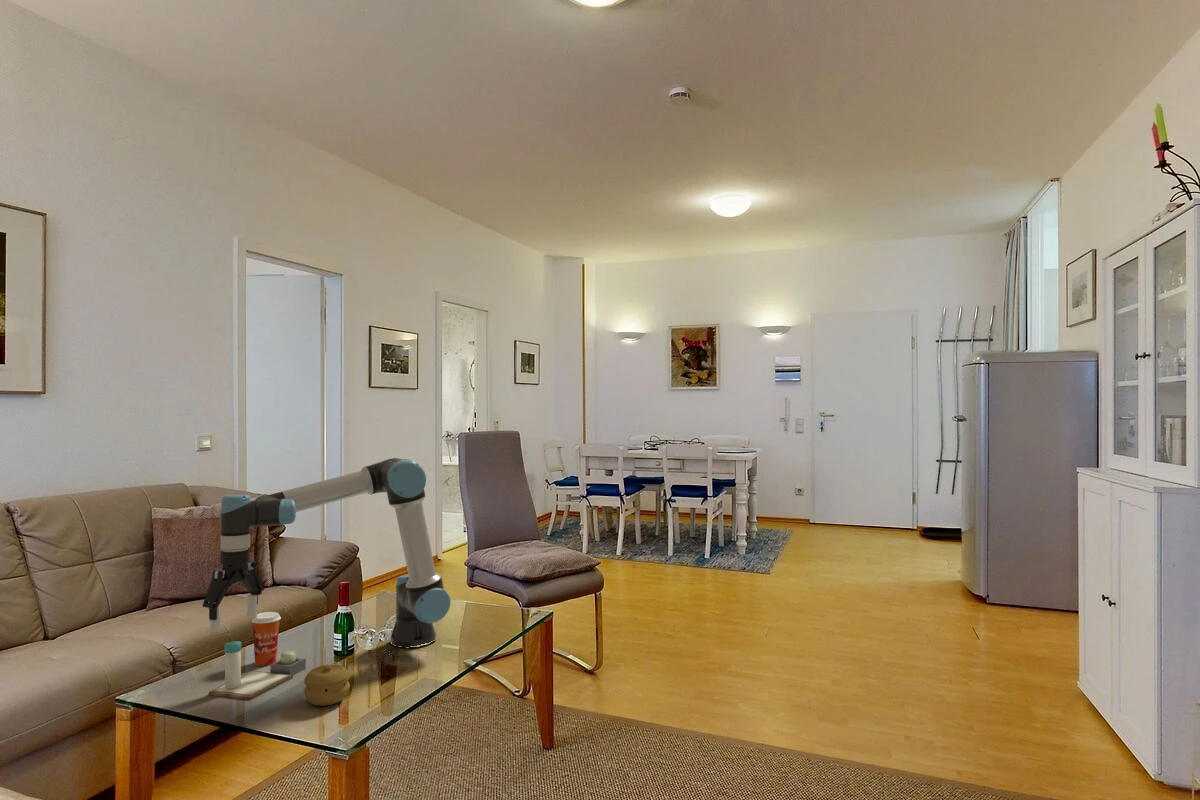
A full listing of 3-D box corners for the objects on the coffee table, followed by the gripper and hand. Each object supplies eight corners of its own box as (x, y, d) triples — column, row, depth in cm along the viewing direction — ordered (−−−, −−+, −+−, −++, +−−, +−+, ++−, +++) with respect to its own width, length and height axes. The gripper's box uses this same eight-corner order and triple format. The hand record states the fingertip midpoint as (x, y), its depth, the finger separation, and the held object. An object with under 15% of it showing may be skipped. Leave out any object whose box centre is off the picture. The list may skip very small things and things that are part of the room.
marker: (244, 684, 199) (244, 641, 200) (233, 689, 195) (233, 646, 196) (232, 683, 200) (232, 640, 201) (221, 688, 196) (221, 645, 197)
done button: (298, 663, 214) (298, 651, 214) (289, 668, 210) (289, 656, 210) (287, 662, 215) (287, 650, 215) (278, 667, 211) (278, 654, 211)
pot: (350, 691, 197) (350, 655, 197) (349, 707, 186) (349, 669, 186) (305, 696, 193) (305, 660, 193) (301, 713, 182) (302, 675, 182)
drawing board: (293, 677, 207) (293, 672, 207) (250, 700, 191) (250, 694, 191) (253, 673, 211) (253, 668, 211) (208, 694, 194) (208, 689, 194)
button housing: (305, 668, 215) (305, 658, 215) (290, 676, 208) (290, 666, 208) (286, 666, 217) (286, 656, 217) (270, 674, 210) (270, 664, 210)
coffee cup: (251, 669, 214) (251, 620, 215) (250, 660, 221) (251, 613, 222) (281, 664, 218) (281, 616, 218) (279, 656, 225) (280, 610, 226)
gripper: (256, 541, 212) (255, 611, 211) (188, 557, 188) (187, 636, 187) (277, 542, 210) (276, 613, 209) (211, 558, 186) (210, 638, 185)
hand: (234, 624), depth 198 cm, fingers open, 13 cm apart
